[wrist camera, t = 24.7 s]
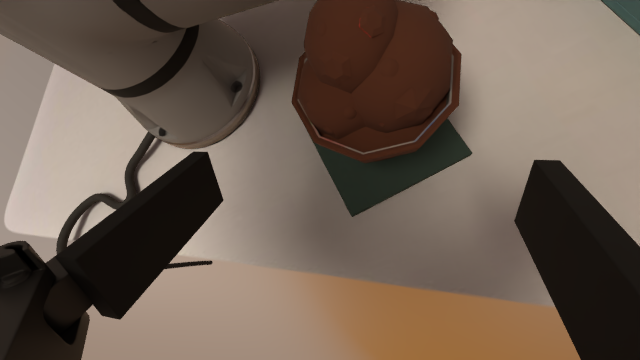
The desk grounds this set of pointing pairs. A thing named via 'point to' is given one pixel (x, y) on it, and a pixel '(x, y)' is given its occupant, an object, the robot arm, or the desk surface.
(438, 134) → the mat
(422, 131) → the ice cream bowl
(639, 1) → the divided tray
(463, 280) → the desk surface
